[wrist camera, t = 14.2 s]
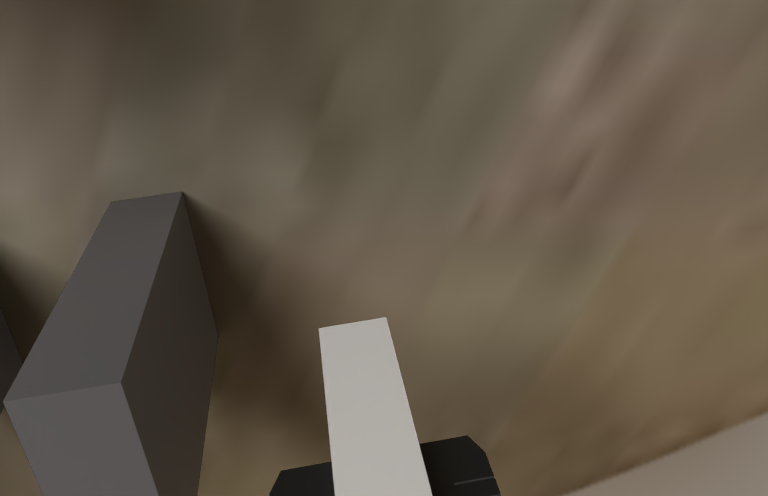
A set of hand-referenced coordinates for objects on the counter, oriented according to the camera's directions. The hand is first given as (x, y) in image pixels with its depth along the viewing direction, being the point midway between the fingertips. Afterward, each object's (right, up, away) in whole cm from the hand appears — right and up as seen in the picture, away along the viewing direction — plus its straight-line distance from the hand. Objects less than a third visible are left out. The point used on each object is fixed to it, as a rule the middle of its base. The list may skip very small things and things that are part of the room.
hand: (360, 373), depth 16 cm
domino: (-6, +2, +5) cm, 8 cm away
